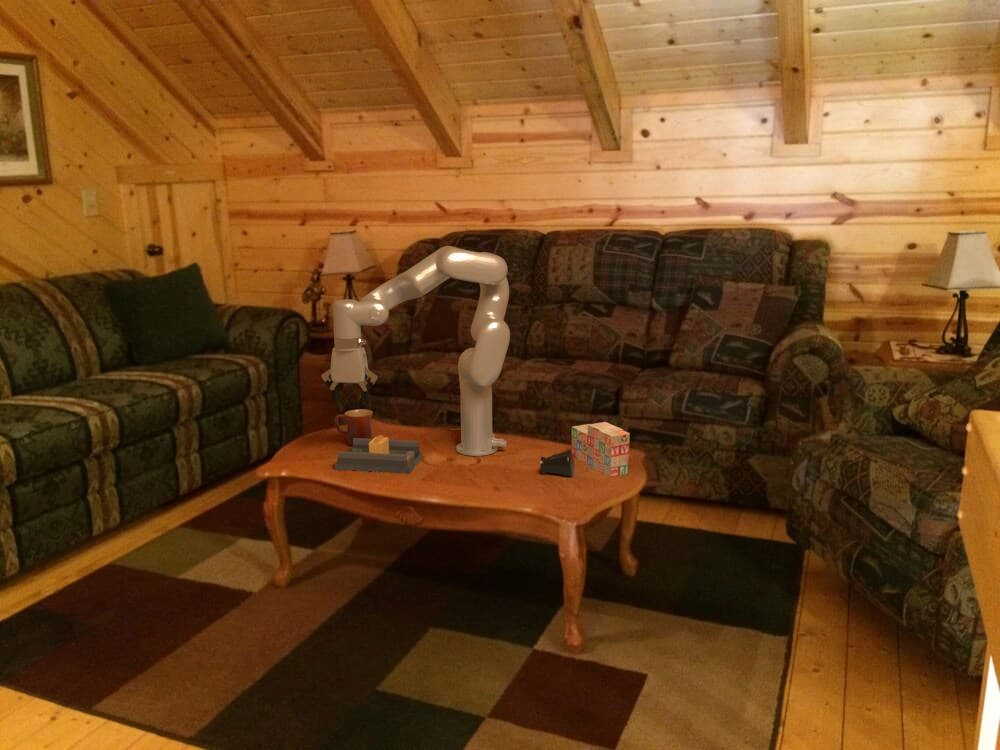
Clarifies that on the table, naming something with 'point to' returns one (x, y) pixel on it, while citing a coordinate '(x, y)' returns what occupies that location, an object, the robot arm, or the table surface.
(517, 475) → the table surface
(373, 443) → the cheese wedge
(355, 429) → the mug
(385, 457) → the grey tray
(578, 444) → the stack of blocks
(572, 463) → the black tapered piece
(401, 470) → the panel
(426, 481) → the table surface
